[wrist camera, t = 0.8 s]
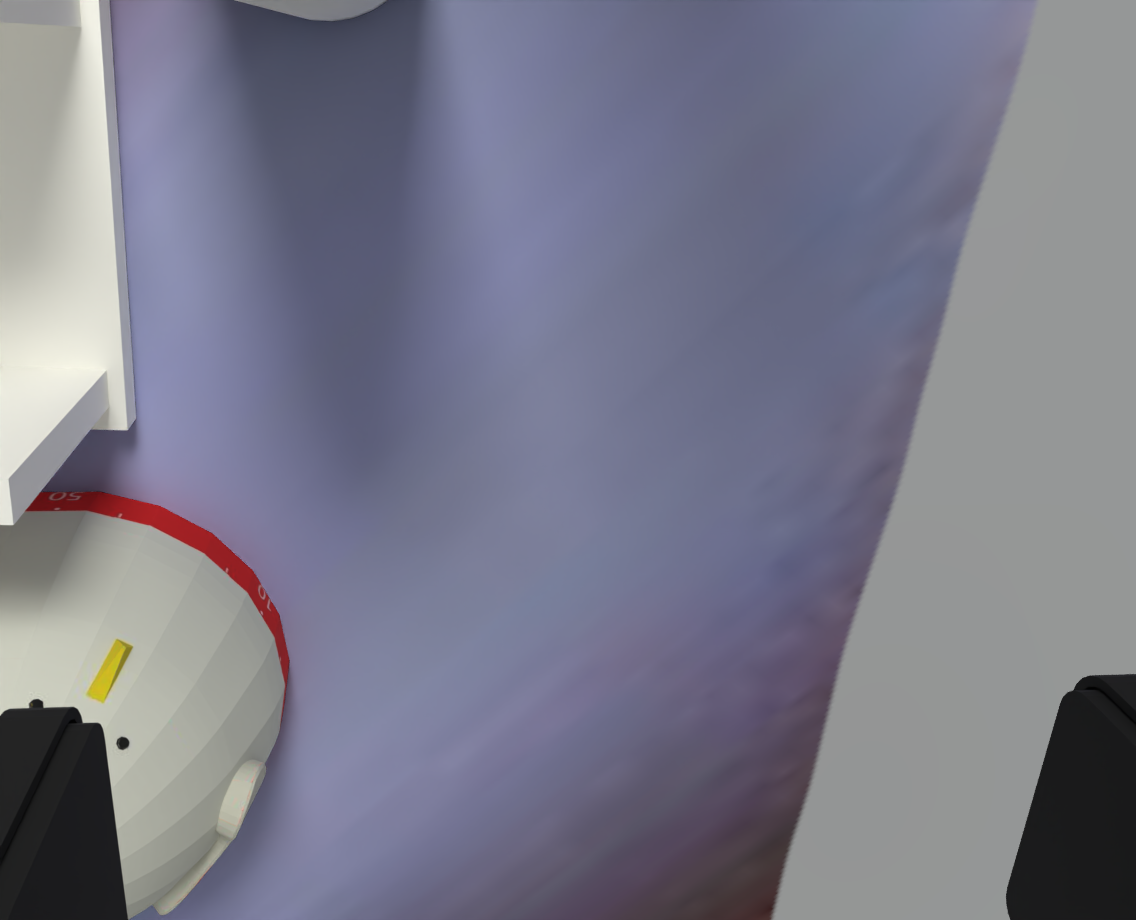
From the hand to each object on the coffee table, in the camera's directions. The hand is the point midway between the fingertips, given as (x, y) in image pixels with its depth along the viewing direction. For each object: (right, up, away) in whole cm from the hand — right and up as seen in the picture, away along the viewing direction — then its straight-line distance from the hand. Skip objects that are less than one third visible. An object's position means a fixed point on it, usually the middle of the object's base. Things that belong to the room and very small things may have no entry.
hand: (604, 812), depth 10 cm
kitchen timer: (-18, -4, +28) cm, 33 cm away
